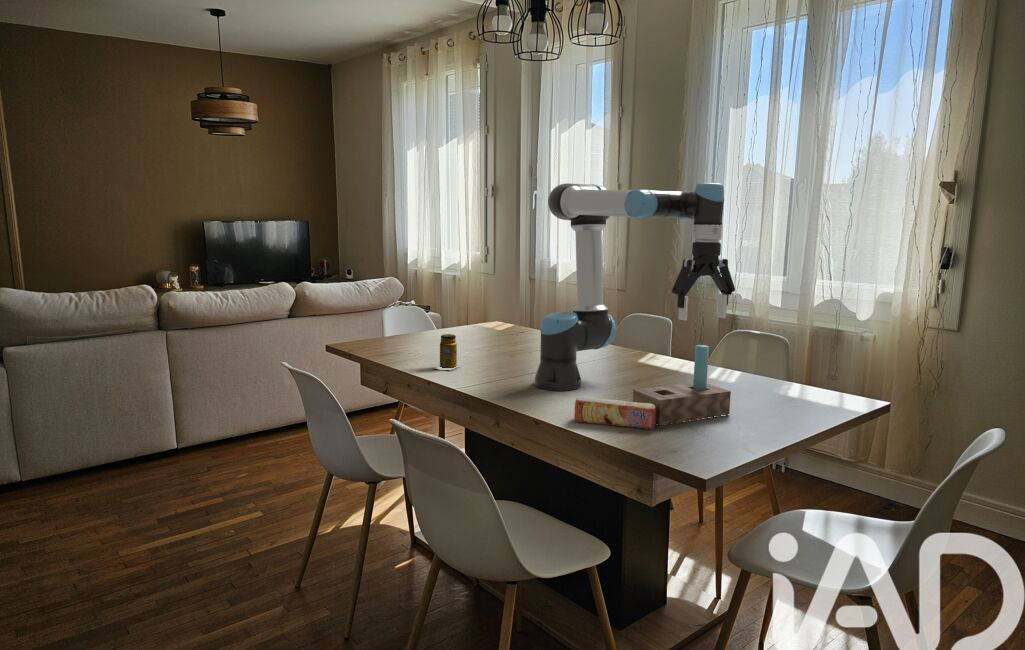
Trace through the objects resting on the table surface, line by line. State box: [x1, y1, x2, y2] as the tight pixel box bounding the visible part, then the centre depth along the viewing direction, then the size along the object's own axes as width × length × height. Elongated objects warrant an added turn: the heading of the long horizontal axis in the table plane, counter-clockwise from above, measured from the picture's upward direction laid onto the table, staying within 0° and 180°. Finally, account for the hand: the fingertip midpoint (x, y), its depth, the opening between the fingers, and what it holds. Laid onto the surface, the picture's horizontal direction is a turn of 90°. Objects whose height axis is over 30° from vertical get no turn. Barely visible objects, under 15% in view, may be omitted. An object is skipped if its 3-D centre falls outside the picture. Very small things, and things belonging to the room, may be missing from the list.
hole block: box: [632, 382, 732, 426], centre depth 189 cm, size 24×12×7 cm, turn 116°
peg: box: [692, 344, 710, 391], centre depth 190 cm, size 4×4×18 cm
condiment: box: [439, 333, 458, 368], centre depth 243 cm, size 7×8×12 cm
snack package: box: [574, 395, 656, 430], centre depth 180 cm, size 21×7×7 cm, turn 73°
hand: (702, 318), depth 188 cm, fingers open, 13 cm apart
